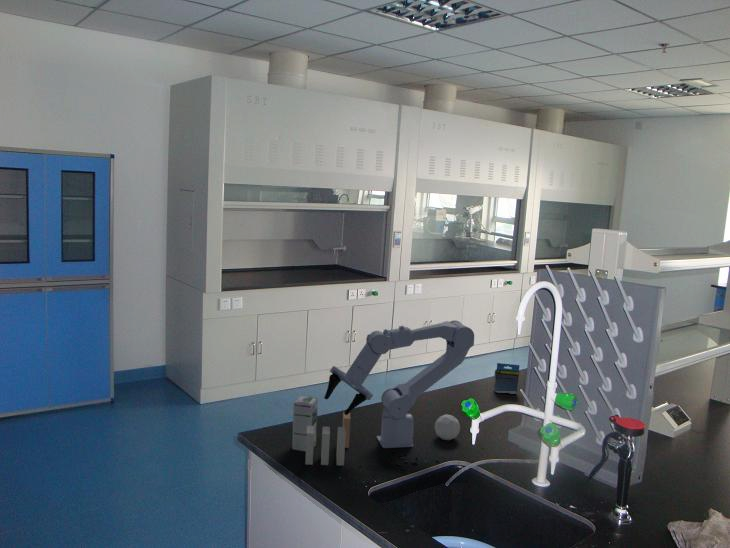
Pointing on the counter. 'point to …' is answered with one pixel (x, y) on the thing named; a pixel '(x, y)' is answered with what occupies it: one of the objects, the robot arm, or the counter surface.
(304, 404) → the syrup box
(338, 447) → the tile
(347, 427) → the tile
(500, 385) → the label tape box
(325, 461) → the tile
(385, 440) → the robot arm
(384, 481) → the counter surface
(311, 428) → the tile
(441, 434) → the ball
